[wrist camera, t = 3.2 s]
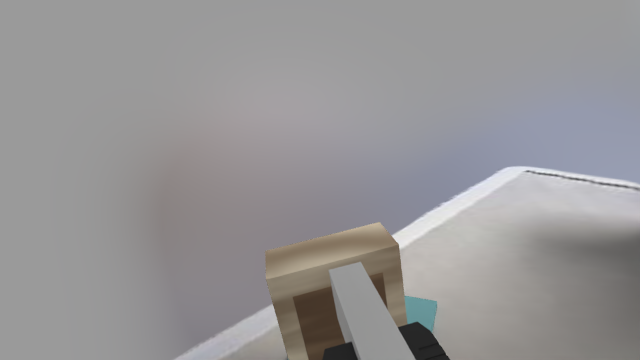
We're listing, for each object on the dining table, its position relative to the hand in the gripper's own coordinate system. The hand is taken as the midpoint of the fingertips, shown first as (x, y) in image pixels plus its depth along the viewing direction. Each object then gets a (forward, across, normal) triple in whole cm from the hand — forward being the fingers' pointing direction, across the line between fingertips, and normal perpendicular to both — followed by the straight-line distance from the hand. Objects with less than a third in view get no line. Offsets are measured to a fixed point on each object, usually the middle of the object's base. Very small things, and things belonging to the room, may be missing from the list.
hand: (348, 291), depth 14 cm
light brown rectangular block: (+10, +1, -19) cm, 22 cm away
